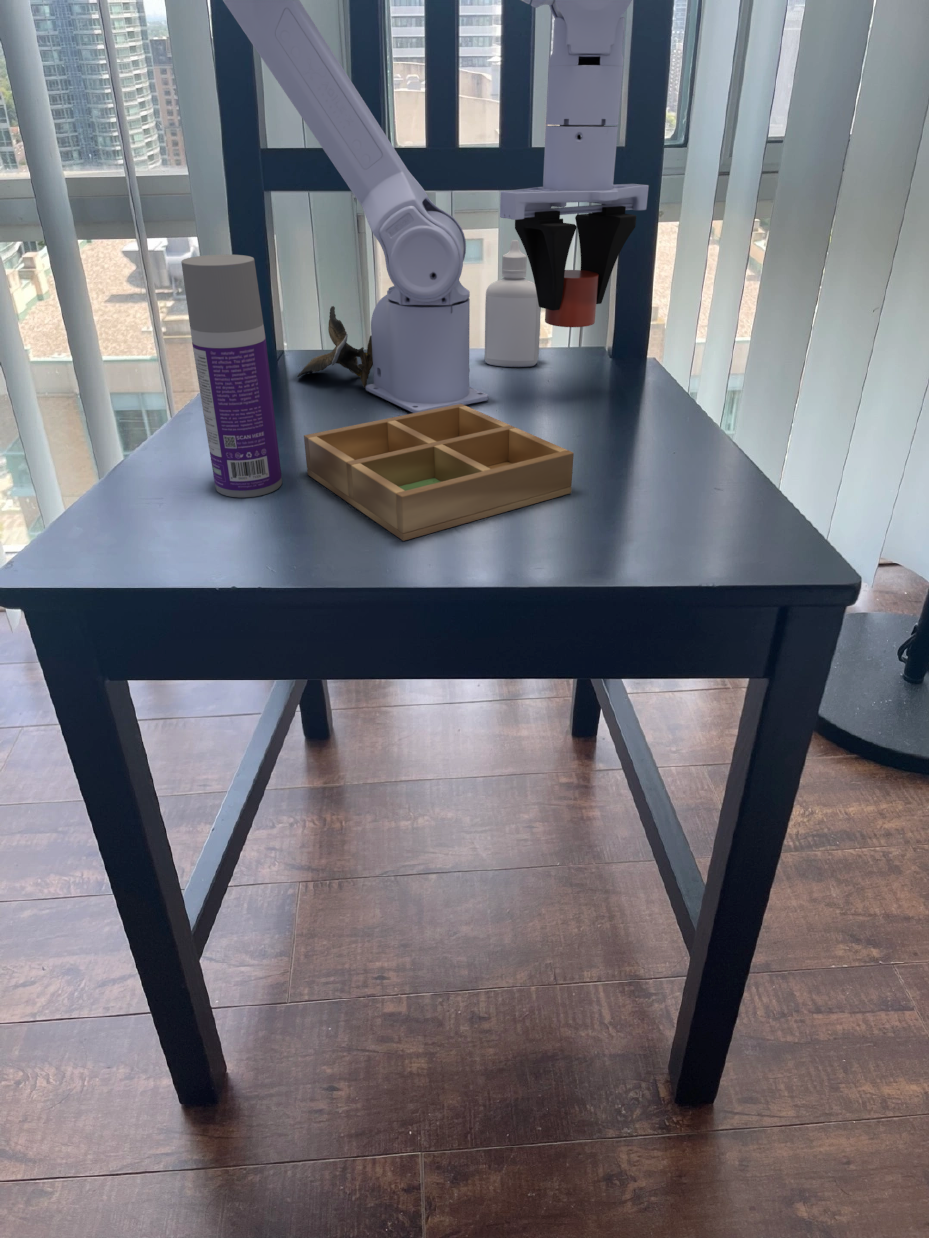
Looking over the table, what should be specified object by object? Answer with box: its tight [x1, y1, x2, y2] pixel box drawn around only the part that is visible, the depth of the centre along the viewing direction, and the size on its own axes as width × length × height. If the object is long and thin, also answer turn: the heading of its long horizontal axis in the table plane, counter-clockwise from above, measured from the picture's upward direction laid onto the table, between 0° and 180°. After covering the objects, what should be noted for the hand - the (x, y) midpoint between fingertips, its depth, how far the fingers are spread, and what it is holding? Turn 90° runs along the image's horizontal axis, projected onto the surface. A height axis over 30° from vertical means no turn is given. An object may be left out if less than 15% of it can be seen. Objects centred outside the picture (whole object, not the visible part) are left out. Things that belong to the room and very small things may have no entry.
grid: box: [303, 404, 575, 542], centre depth 60 cm, size 14×14×3 cm
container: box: [180, 254, 283, 498], centre depth 57 cm, size 5×5×15 cm
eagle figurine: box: [296, 305, 373, 389], centre depth 83 cm, size 8×7×9 cm
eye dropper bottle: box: [484, 239, 542, 368], centre depth 87 cm, size 4×6×12 cm
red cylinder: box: [544, 269, 599, 328], centre depth 74 cm, size 4×4×4 cm
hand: (570, 305), depth 75 cm, fingers closed on red cylinder, 4 cm apart
